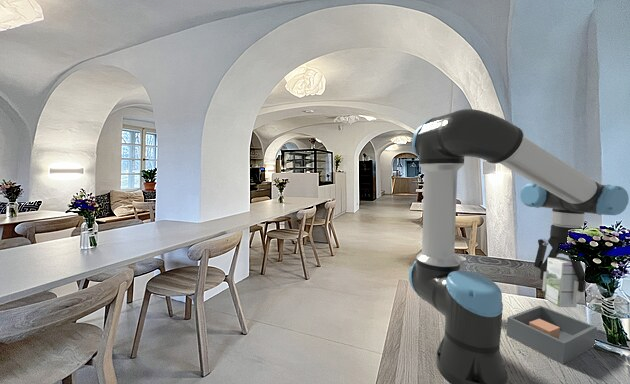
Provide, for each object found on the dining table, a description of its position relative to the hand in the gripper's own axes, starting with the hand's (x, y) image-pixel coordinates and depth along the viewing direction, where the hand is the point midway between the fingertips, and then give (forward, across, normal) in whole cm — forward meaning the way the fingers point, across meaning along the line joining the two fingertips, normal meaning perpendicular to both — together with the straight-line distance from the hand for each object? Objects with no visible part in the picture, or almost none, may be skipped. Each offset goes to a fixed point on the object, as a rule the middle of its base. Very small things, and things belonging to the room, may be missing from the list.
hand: (560, 295), depth 87 cm
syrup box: (+3, 0, 0) cm, 3 cm away
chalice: (+10, +23, +20) cm, 32 cm away
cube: (+9, -4, +17) cm, 20 cm away
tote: (+10, -4, +13) cm, 17 cm away
